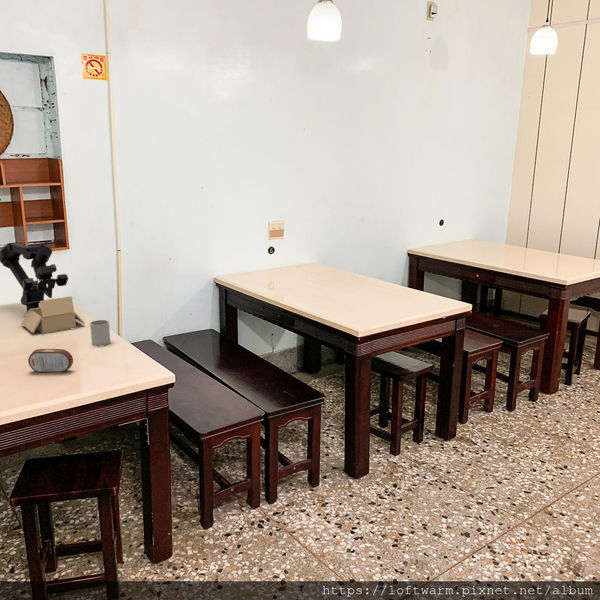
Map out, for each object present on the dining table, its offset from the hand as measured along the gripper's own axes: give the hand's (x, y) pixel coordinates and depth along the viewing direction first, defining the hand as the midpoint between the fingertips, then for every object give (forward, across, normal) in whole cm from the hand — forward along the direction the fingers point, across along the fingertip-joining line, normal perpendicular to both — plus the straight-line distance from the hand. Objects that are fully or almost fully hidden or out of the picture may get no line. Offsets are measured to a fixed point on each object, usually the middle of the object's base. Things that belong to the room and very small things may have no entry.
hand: (50, 297), depth 264 cm
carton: (+8, 0, +11) cm, 13 cm away
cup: (+34, +8, -15) cm, 38 cm away
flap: (+8, 0, -4) cm, 9 cm away
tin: (+50, -18, -30) cm, 61 cm away
